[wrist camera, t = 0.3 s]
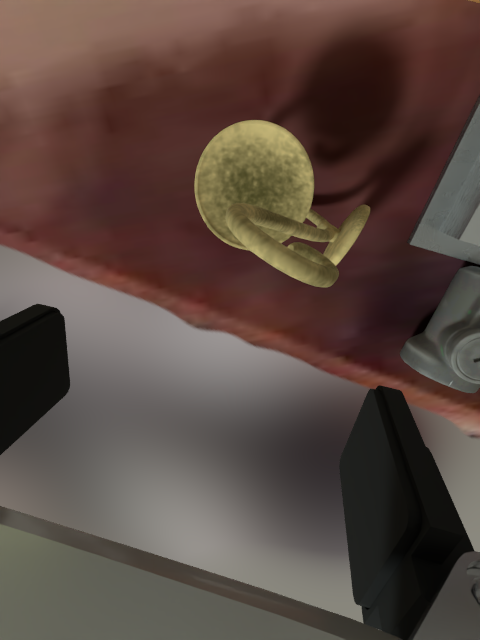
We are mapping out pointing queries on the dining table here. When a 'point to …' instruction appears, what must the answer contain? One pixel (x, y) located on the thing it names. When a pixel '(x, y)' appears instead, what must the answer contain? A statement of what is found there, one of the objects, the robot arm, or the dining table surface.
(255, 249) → the wall sconce
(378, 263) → the dining table surface
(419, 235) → the square hole block
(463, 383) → the pipe fitting
